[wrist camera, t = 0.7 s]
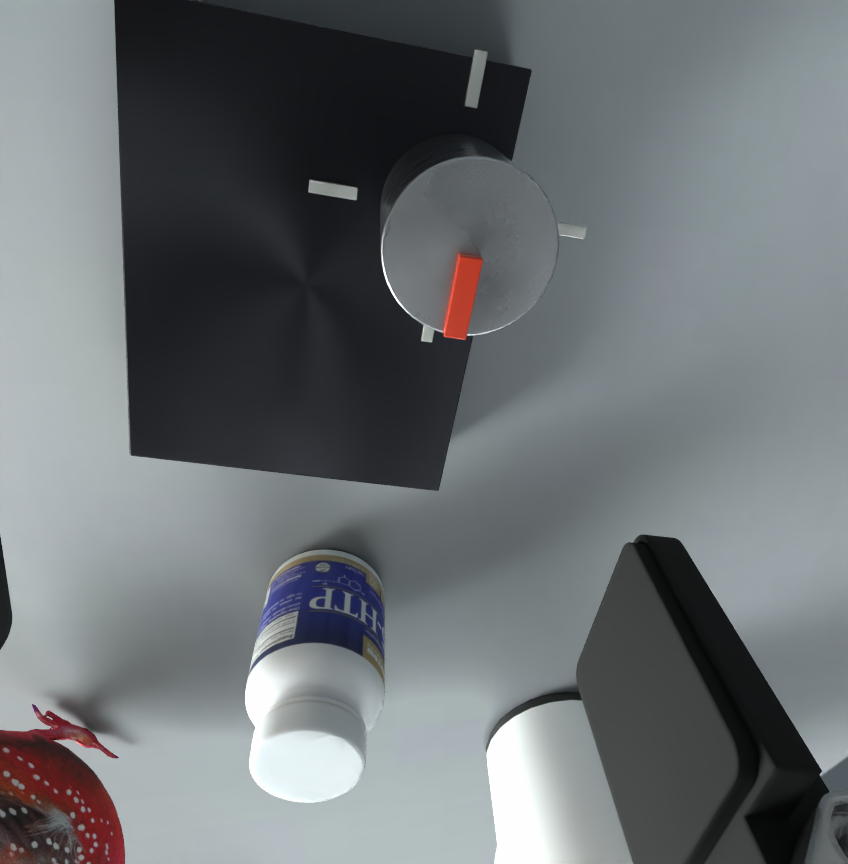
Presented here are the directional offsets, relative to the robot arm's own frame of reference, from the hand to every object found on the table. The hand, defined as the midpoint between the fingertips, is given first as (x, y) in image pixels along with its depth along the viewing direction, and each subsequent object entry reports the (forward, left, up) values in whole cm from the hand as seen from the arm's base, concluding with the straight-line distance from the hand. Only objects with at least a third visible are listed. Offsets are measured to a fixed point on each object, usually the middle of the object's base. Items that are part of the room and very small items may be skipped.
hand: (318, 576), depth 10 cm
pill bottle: (+15, +1, -16) cm, 22 cm away
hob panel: (0, 0, -16) cm, 16 cm away
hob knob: (-3, +3, -13) cm, 14 cm away
